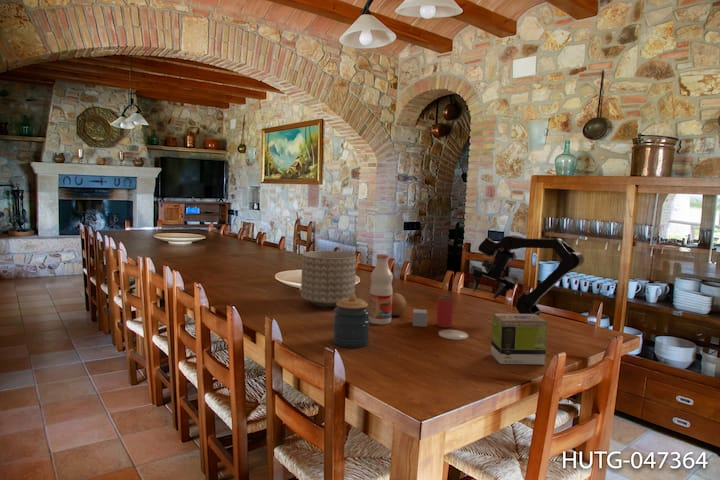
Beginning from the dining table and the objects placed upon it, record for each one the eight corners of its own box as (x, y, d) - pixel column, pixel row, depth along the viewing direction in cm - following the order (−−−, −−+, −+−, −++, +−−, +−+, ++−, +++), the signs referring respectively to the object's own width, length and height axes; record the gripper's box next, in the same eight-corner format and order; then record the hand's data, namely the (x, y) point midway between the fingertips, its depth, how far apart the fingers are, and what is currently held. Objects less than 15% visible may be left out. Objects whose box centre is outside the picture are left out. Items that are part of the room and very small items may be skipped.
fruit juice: (375, 317, 202) (377, 252, 199) (394, 321, 198) (398, 255, 195) (364, 322, 194) (367, 255, 191) (384, 326, 190) (387, 257, 187)
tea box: (532, 355, 162) (536, 313, 161) (545, 365, 152) (548, 321, 151) (489, 354, 162) (492, 311, 160) (499, 364, 152) (502, 319, 150)
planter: (292, 308, 212) (293, 256, 210) (311, 296, 236) (312, 249, 234) (346, 314, 206) (348, 260, 204) (359, 301, 231) (361, 253, 228)
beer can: (452, 328, 190) (453, 299, 188) (435, 327, 191) (437, 298, 190) (452, 324, 196) (454, 296, 195) (436, 323, 197) (437, 294, 196)
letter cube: (426, 323, 197) (427, 310, 196) (426, 326, 191) (427, 313, 191) (412, 322, 198) (413, 309, 197) (412, 325, 192) (413, 312, 191)
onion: (405, 319, 201) (406, 296, 200) (382, 317, 203) (383, 294, 202) (407, 313, 211) (408, 291, 210) (385, 311, 213) (386, 290, 211)
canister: (348, 334, 177) (350, 288, 175) (376, 342, 169) (378, 294, 167) (324, 342, 167) (326, 293, 165) (352, 351, 159) (354, 300, 157)
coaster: (473, 338, 178) (473, 336, 178) (449, 341, 174) (449, 339, 174) (456, 330, 188) (456, 328, 188) (433, 332, 184) (433, 330, 184)
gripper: (515, 262, 204) (499, 293, 209) (475, 248, 203) (460, 279, 208) (522, 273, 194) (505, 305, 199) (480, 258, 193) (464, 290, 198)
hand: (484, 294), depth 201 cm, fingers open, 9 cm apart
